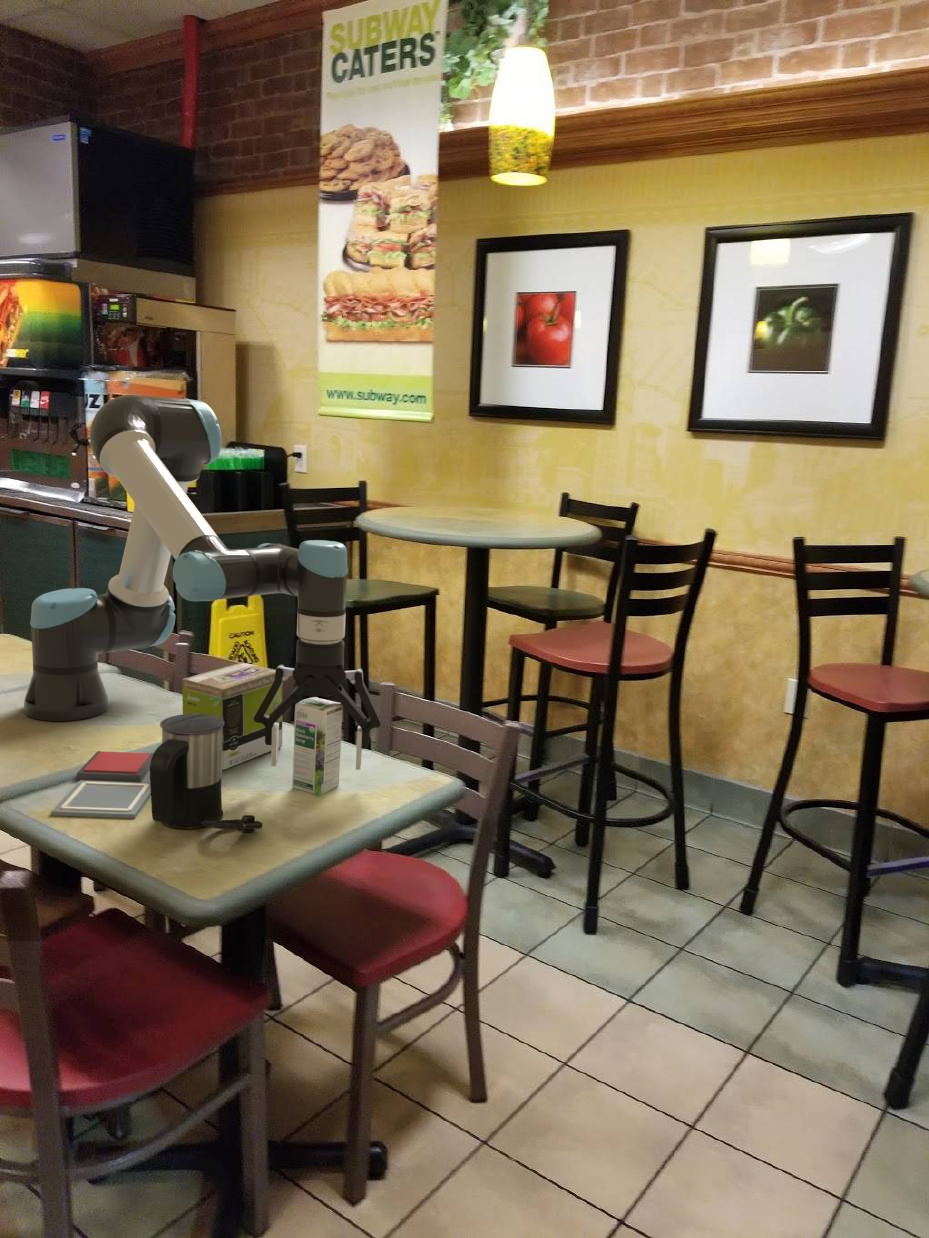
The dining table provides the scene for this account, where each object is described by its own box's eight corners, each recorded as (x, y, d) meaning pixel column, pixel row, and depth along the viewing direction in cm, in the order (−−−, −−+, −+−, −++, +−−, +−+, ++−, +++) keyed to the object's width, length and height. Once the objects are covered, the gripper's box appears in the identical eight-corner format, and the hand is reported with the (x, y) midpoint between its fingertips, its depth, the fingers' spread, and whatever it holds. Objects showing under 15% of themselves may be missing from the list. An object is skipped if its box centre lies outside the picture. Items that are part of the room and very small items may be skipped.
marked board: (80, 783, 147) (79, 779, 147) (156, 786, 148) (156, 782, 148) (51, 815, 135) (51, 810, 135) (134, 818, 136) (134, 813, 136)
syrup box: (290, 788, 151) (292, 703, 148) (312, 777, 156) (315, 694, 153) (319, 796, 148) (322, 710, 145) (340, 785, 153) (343, 701, 150)
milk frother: (168, 803, 142) (168, 711, 139) (272, 806, 143) (274, 715, 140) (142, 844, 128) (141, 743, 125) (257, 848, 130) (259, 747, 126)
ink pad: (97, 757, 158) (97, 749, 158) (157, 760, 159) (157, 751, 159) (76, 779, 149) (76, 771, 148) (140, 782, 149) (140, 773, 149)
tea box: (242, 736, 174) (243, 660, 170) (283, 748, 169) (285, 670, 166) (180, 758, 161) (180, 676, 158) (222, 772, 156) (223, 687, 153)
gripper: (236, 640, 142) (235, 770, 147) (398, 648, 144) (392, 776, 149) (245, 629, 150) (243, 753, 154) (399, 637, 151) (393, 759, 156)
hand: (316, 765), depth 151 cm, fingers open, 13 cm apart
